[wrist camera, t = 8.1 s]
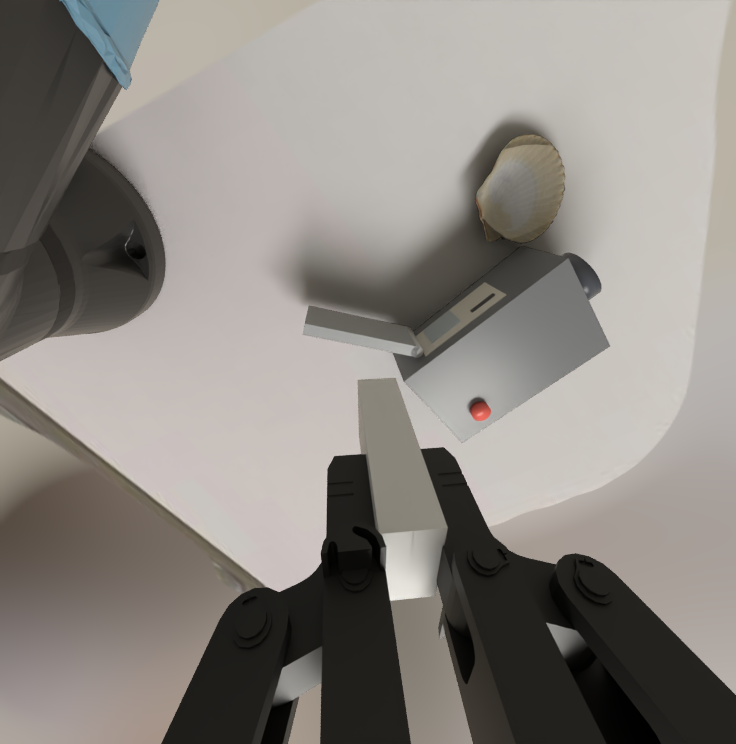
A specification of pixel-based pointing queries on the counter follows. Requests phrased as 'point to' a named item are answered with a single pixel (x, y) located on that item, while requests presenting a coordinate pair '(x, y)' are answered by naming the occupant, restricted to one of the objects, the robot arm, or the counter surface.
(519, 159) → the seashell
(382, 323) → the side door
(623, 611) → the robot arm
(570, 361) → the camera body
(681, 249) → the counter surface
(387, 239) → the counter surface
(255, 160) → the counter surface
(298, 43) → the counter surface
